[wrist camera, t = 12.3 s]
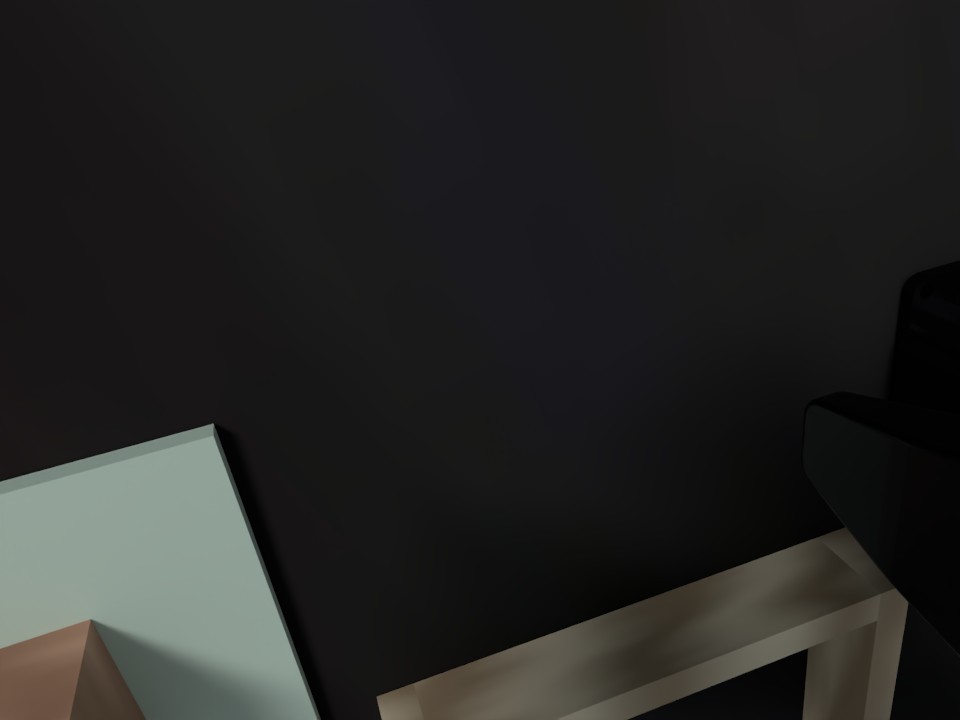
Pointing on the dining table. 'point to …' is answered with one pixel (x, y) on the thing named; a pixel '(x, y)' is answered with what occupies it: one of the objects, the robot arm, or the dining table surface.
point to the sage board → (153, 579)
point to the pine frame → (696, 646)
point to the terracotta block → (64, 679)
